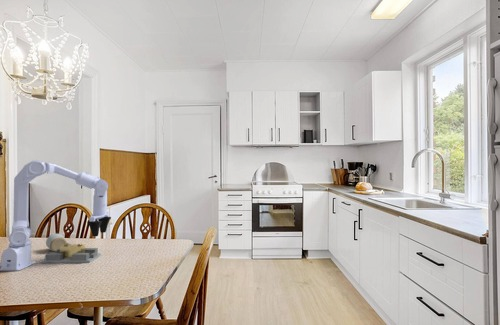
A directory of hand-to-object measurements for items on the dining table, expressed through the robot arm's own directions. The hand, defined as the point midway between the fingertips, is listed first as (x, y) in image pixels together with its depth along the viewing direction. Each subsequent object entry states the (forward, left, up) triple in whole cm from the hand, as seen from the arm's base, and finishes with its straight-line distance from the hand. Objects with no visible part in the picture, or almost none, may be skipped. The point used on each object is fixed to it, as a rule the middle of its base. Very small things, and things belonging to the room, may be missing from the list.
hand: (99, 234), depth 129 cm
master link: (-5, +9, -9) cm, 14 cm away
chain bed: (-5, +9, -10) cm, 14 cm away
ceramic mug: (+9, +23, -10) cm, 27 cm away
